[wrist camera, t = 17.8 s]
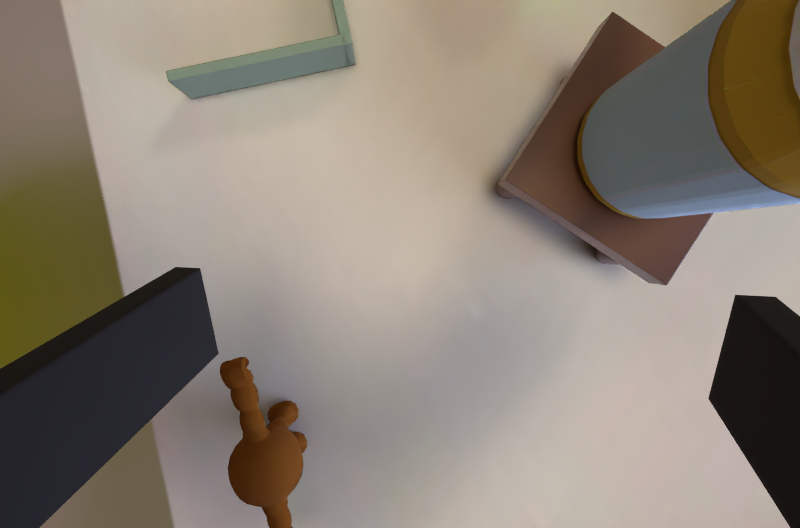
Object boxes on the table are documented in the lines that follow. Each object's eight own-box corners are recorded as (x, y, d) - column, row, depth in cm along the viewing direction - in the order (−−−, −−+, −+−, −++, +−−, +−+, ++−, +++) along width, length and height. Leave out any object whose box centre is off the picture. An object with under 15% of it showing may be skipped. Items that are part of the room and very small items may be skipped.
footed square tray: (480, 193, 29) (505, 179, 23) (565, 60, 29) (612, 11, 23) (609, 278, 30) (667, 285, 24) (694, 147, 29) (773, 121, 23)
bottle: (544, 167, 23) (839, 20, 8) (624, 53, 23) (1069, -309, 8) (654, 246, 23) (1132, 244, 8) (733, 134, 23) (1355, -70, 8)
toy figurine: (232, 345, 29) (186, 375, 22) (290, 330, 29) (261, 355, 22) (282, 525, 29) (251, 608, 23) (338, 509, 29) (324, 587, 23)
